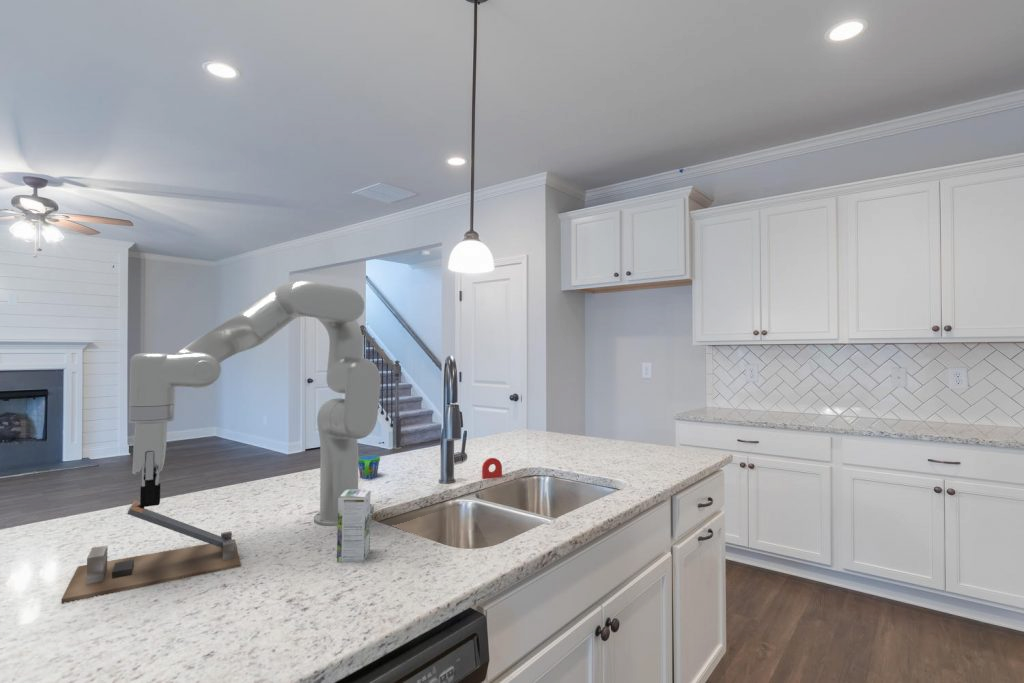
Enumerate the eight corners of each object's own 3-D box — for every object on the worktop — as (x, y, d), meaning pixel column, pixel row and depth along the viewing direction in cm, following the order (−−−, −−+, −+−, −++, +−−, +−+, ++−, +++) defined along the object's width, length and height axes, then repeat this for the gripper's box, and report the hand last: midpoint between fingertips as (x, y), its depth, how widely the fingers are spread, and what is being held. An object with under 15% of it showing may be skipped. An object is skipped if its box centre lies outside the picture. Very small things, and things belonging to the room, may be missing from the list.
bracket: (486, 485, 171) (486, 461, 171) (482, 482, 175) (482, 458, 175) (519, 481, 176) (519, 458, 176) (514, 478, 180) (514, 455, 180)
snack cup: (361, 474, 184) (361, 454, 184) (382, 474, 184) (382, 453, 184) (353, 483, 173) (353, 461, 173) (376, 483, 173) (376, 460, 173)
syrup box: (343, 555, 113) (343, 489, 113) (370, 554, 113) (370, 488, 113) (336, 566, 107) (336, 496, 107) (365, 565, 108) (365, 495, 108)
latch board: (234, 544, 119) (235, 518, 119) (240, 569, 105) (241, 540, 105) (78, 572, 104) (78, 542, 104) (61, 606, 90) (61, 571, 91)
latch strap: (228, 545, 113) (234, 536, 114) (230, 553, 109) (236, 543, 110) (128, 509, 104) (135, 499, 105) (125, 516, 100) (132, 505, 100)
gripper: (132, 411, 109) (130, 498, 108) (125, 419, 96) (122, 518, 96) (175, 409, 113) (173, 493, 112) (173, 417, 100) (171, 512, 100)
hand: (150, 504), depth 104 cm, fingers closed
